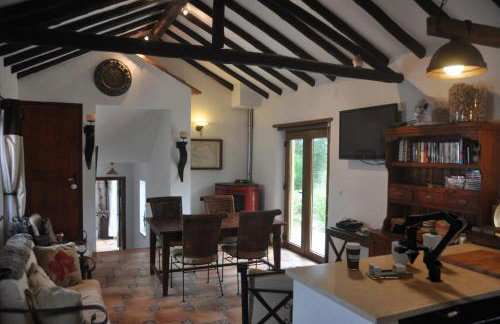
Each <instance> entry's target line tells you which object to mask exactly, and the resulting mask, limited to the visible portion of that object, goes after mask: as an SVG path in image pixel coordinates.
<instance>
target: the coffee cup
mask: <svg viewBox="0 0 500 324" xmlns="http://www.w3.org/2000/svg"><path fill="white" fill-rule="evenodd" d="M344 248H345V256H346V267H347V268H346V269H348V268H349V269H358V270H359V268H360V260H361V259H360V258H361V249H362V246H361V243H359V242H352V241H351V242H350V241H349V242H346V243H345V245H344ZM349 269H348V270H349Z"/></svg>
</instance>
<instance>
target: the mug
mask: <svg viewBox="0 0 500 324" xmlns="http://www.w3.org/2000/svg"><path fill="white" fill-rule="evenodd" d="M399 246H401V245H399V244H398V240H396V241H391V255H392V259H393V262H394V264H402V265H404V266H407V265H408V264H410V261H409V258H408V256H407V254H406V253H404V254H399V253H397V252H395V251H394V248H395V247H399ZM401 247H402V246H401ZM403 248H406V247H403ZM409 250H411V249H409Z"/></svg>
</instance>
